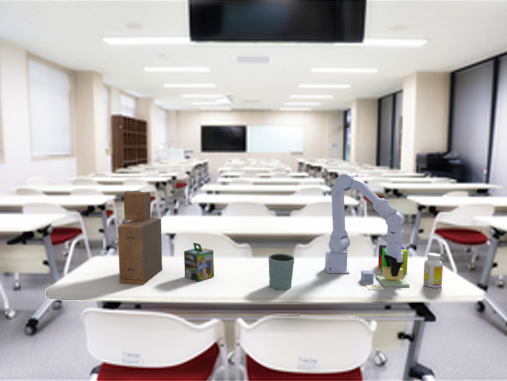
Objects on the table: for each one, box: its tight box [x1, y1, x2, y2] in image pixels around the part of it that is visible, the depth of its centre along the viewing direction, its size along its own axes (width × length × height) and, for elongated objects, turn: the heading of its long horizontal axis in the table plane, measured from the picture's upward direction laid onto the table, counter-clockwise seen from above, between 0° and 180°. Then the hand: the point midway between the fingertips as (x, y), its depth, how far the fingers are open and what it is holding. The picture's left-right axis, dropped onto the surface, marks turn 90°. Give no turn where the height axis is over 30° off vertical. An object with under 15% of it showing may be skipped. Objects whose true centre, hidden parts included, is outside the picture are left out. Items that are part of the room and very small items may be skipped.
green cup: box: [268, 253, 295, 291], centre depth 147 cm, size 10×10×12 cm
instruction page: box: [365, 284, 386, 291], centre depth 147 cm, size 6×5×1 cm
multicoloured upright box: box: [183, 242, 215, 283], centre depth 157 cm, size 9×9×15 cm
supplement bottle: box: [423, 252, 444, 289], centre depth 149 cm, size 7×7×13 cm
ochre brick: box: [381, 267, 404, 280], centre depth 152 cm, size 7×4×4 cm, turn 88°
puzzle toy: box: [377, 244, 409, 274], centre depth 169 cm, size 10×10×10 cm
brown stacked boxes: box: [117, 191, 163, 286], centre depth 156 cm, size 19×14×35 cm
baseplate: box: [375, 275, 410, 288], centre depth 153 cm, size 10×10×1 cm
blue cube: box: [360, 270, 375, 284], centre depth 154 cm, size 4×4×4 cm
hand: (392, 274), depth 153 cm, fingers closed on ochre brick, 4 cm apart
